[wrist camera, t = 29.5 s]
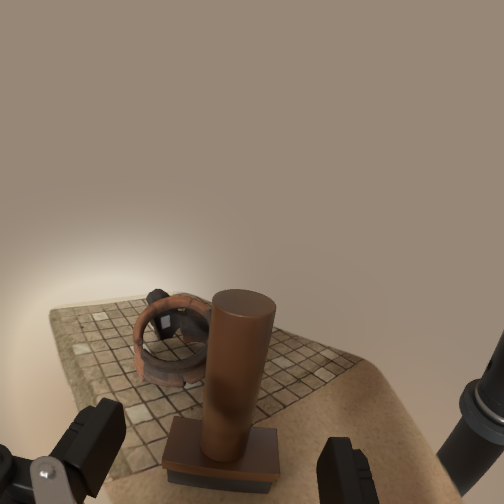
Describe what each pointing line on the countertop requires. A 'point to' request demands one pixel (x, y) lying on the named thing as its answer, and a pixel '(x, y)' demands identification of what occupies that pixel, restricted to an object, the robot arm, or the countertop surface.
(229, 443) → the brush
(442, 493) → the countertop surface
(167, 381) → the pottery mug
